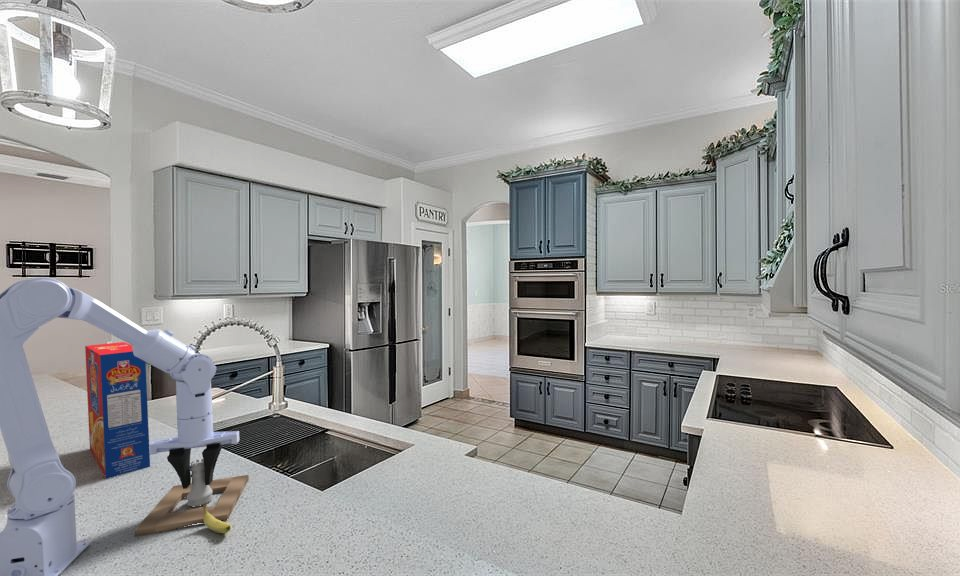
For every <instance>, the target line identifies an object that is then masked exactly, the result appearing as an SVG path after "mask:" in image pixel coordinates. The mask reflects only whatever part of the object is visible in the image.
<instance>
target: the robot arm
mask: <svg viewBox="0 0 960 576" xmlns="http://www.w3.org/2000/svg"><path fill="white" fill-rule="evenodd" d="M57 318H59V319H67V320H69V319H70V320H79V321H83V322H86V323H88V324H90V325H92V326H94V327H96V328H97V329H100V330H102V331H104V332H106V333H108V334H110V335H111V336H114V337H115V338H117V339H118V340H121V341H122V342H125V343H127V344H130V345H132V348H133V354H134V356H136V357H138V358H140V359H142V360H143V361H145V362H146V363H147V364H149V365H150V366H151V365H152V366H153V367H154V368H156V369H159V370H160V371H163V372H164V373H166V374H169V375H170V376H171V378H172V379H174V380H175V392H176V393H175V398H176V399H175V401H176V402H175V403H176V425H177V436H176V437H172V438H171V437H170V438H168V439H167V438H164V439H160V440H154V441H153V442H151V443H149V452H150V456H151V455H157V454H158V453H166V452H169V453H168V455H167V456H166V459H167V462H168V463H169V464H170V465H171V466H172V468H173V469H174V471H175V472H176V474H177V476H178V478H179V480H180V483H181V485H182V487H183V489H186V488H188V486H189V485H190V484H191V483H192V477H191V474H192V472H191V471H190V470H189V467H190V466H191V452H192V449H197V448H204V449H203V451H202V452H201V454H202V455H201V456H202V459H203V460H204V467H205V485H210V484H211V482H212V481H213V480H214V479H213V478H214V472H215V469H216V464H217V462H218V459H219V456H220V455H221V454H220V453H221V450H222V449H223V446H224V445H228V444H231V445H236V444H238V443H239V442H240V431H239V430H236V431H214V422H213V419H214V417H213V396H212V395H213V393H212V380H213V378H214V376H215V375H216V372H217V366H216V365H215V364H214V362H213V359H212V358H211V357H210V356H208V355H206V354H204V353H203V354H202V353H197V352H196V351H195V350H196V349H197V347H195V346H193V345H192V344H190V345H187V344H185V343H184V342H182V341H180V340H179V339H177V338H175V337H174V332H172V331H170V330H168V329H164V330H162V329H160V328H154V329H150V330H149V329H147V330H146V329H144V328H143V327H141V326H140V325H138V324H137V323H135V322H134V321H131V320H130V319H128V318H127V317H125V316H124V315H122V314H120V313H119V312H118V311H116V310H115V309H113V308H111V307H110V306H109V305H107V304H105V303H103V302H102V301H100V300H98V299H97V298H94V296H92V295H89V294H88V293H85V292H83V291H81V290H79V289H76V288H74V287H68V286H67V285H66V284H65V283H63V282H62V281H60V280H58V279H55V278H53V277H45V276H44V277H43V276H41V277H39V276H38V277H33V278H30V279H23V280H22V279H21V280H19V281H16V282H14V283H13V284H11V285H9V286H8V287H7V288H6V289H4V291H2V292H1V293H0V433H1V436H2V439H3V442H4V445H5V447H6V448H5V449H6V452H7V457H8V463H9V465H10V473H9V475H8V477H7V478H8V479H7V480H6V481H7V482H6V487H7V490H8V492H9V493H10V494H11V495H12V496H13V498H14V502H13V503H12V505H11V506H10V509H8V510H7V513H6V514H7V519H6V524H5V526H4V528H3V529H2V531H1V532H0V576H59V575H60V574H62V572H63V571H65V570H66V569H67V568H68V567H69V565H71V563H72V562H73V561H74V560H75V559H76V558H78V556H80V554H82V553H83V551H84V550H85V549H87V548H88V547H89V546H90V545H91V541H90V540H86V541H80V542H79V541H78V542H77V526H76V525H77V523H76V521H77V519H76V505H75V504H76V501H75V496H76V495H75V493H74V492H75V490H76V486H77V482H76V481H77V480H76V478H75V476H74V474H73V473H72V472H71V471H69V470H68V469H66V468H65V467H64V465H63V463H62V462H61V459H60V455H58V452H57V449H56V448H55V446H54V444H53V443H54V442H53V441H52V438H51V435H50V430H49V428H48V424H47V421H46V418H45V414H44V411H43V407H42V405H41V401H40V398H39V395H38V393H37V389H36V388H37V387H36V385H35V382H34V381H35V380H34V378H33V376H32V375H33V374H32V372H31V369H30V365H29V362H28V359H27V355H26V352H25V348H24V344H25V343H26V341H28V339H29V338H31V337H32V335H34V334H35V332H37V331H38V330H39V328H40V327H41V326H43V325H45V324H47V323H49V322H51V321H53V320H54V319H57ZM205 447H206V448H205Z"/></svg>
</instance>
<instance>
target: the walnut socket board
mask: <svg viewBox="0 0 960 576" xmlns="http://www.w3.org/2000/svg"><path fill="white" fill-rule="evenodd" d="M249 480H250V479H249V474H246V475H238V476H231V477H224V478H219V479H218V478H217V479H213V481H212V482H211V484H210V485H209V486H210V488H211V489H212V491H213V493H212V495H213V494H217V493H222V495H221V496H220V498H219V500H218V501H217V503H216V504H215V505H209V506H206V508H207V511H208V513H210V514H211V515H212V516H213V517H215V518H216V519H218V520H224V521H228V520H229V519H230V516H231V515H230V514H232V512H233V511H234V508H235V507H236V505H237V503H238V501H239V499H240V497H241V496H242V493H243V491H244V489H245V487H246V485H247V483H248V482H249ZM191 485H192V482H191V484H190V485H189V486H188V488H186V489H183V487H182V484H177V485H173V486H172V487H171V488H170V489H169V491H167V493H166V494H165V495H164V496H163V497H162V499H161V500H160V501H159V502H158V503H157V504H156V505H155V506H154V507H153V508H152V510H151V511H150V512H149V513H148V515H146V516H145V518H143V520H142V521H141V522H140V523H139V524H138V526H137V527H136V528H135V529H134V536H135V537H138V536H137V535H139V536H143V534H144V535H149V534H155V533H156V534H157V533H161V531H162V532H166V531H172V529H173V530H177V529H176V528H179V529H181V528H180V527H184V526H188V525H192V524H197V523H204V520H203V518H204V509H203V507H196V508H191V509H186V510H180V511H174V510H175V509H176V507H177V506H178V505H179V504H180V502H181V501H182V500H183V499H185V498H184V497H187V496H188V494H189V491H190V490H191ZM181 499H182V500H181ZM227 519H228V520H227ZM184 528H185V527H184Z"/></svg>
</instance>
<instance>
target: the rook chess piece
mask: <svg viewBox="0 0 960 576" xmlns="http://www.w3.org/2000/svg"><path fill="white" fill-rule="evenodd" d="M189 470H190V473H191V483H192V485H191V490H190V491H189V494H188V496H187V498H186V500H187V501H186V505H187V506H188V507H190V506H198V507H200V505H202V504H205V503H207V504H209V503H210V502H211V501H212V499H214V495H213V494H214V493H213V491H212V489H211V488H210V486H209V485H205V467H204V460H203V458H201V461H200V459H196V460H193V461H191V462H190V467H189ZM212 493H213V494H212ZM208 502H209V503H208Z"/></svg>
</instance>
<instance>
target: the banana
mask: <svg viewBox="0 0 960 576" xmlns="http://www.w3.org/2000/svg"><path fill="white" fill-rule="evenodd" d="M206 507H207V504H206V503H205V504H202V505H201V506H199V508H203V509H204V518H203V520H204V523H205V524H204V525H205V526H206V528H208V529H209V530H210V531H212V532H215V533H218V534H227V533H229V532H230V531H231V530H232V529H231V528H232V526H231V523H229V522H226V521H220V520H218V519H216V518H215V517H213V516H212V515H211V514H210V513H208V511H207V508H206Z"/></svg>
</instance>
